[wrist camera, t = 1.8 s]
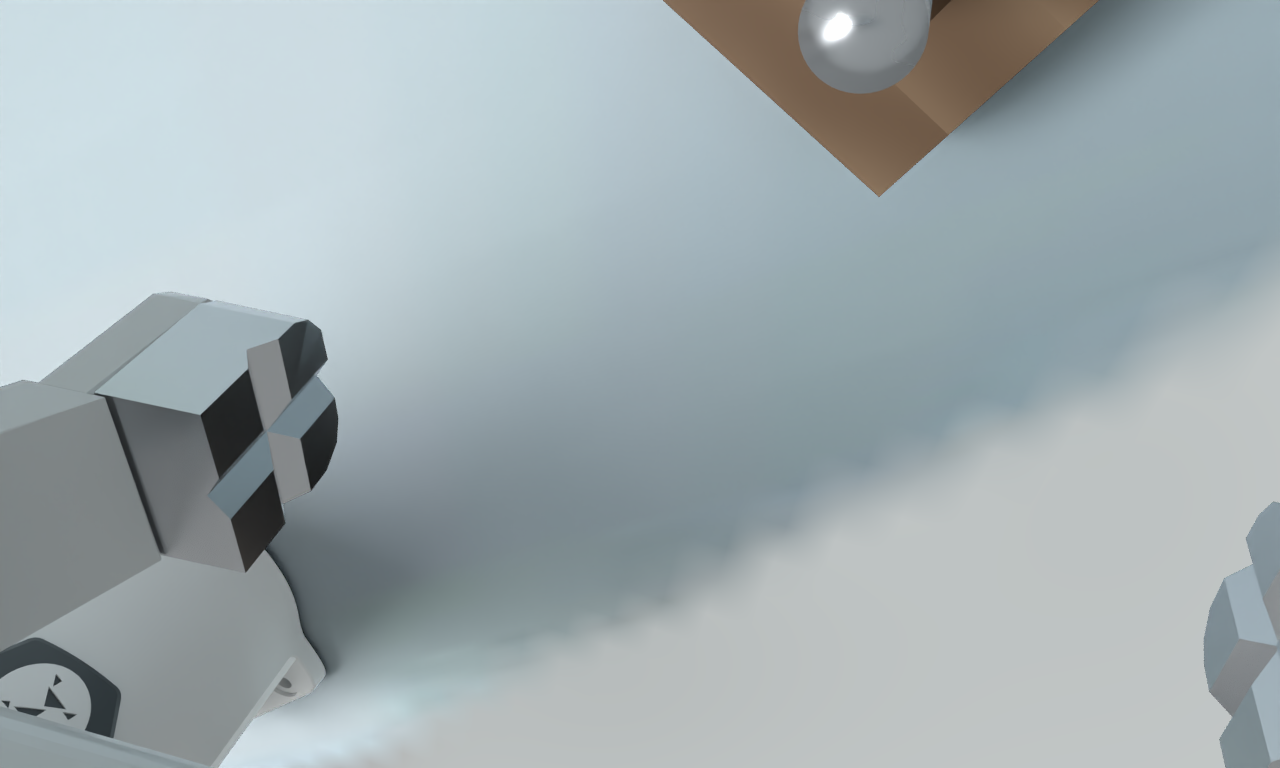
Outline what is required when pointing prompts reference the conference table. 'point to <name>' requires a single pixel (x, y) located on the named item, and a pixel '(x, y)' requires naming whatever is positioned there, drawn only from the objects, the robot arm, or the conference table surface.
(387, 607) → the conference table surface
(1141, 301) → the conference table surface
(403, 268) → the conference table surface
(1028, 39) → the block
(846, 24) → the pin
